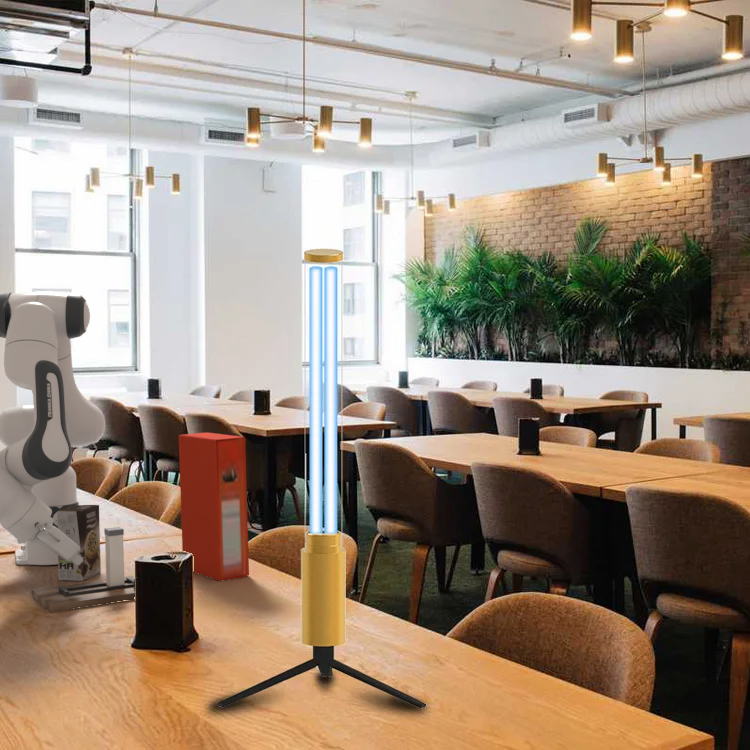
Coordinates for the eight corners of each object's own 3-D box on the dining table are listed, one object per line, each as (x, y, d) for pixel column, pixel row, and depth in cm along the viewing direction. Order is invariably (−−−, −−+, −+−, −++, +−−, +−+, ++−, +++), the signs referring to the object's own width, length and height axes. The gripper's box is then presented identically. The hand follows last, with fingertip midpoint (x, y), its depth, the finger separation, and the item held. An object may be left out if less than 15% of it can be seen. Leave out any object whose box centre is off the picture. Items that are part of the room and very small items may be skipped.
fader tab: (105, 584, 226) (104, 528, 225) (120, 582, 227) (118, 526, 227) (110, 587, 223) (108, 530, 223) (125, 585, 225) (123, 529, 224)
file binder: (218, 581, 234) (214, 439, 233) (181, 569, 248) (178, 434, 247) (249, 576, 239) (246, 436, 238) (212, 564, 253) (208, 432, 252)
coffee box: (83, 581, 237) (81, 510, 237) (57, 580, 239) (55, 510, 238) (102, 572, 246) (100, 504, 246) (76, 571, 247) (75, 503, 247)
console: (31, 596, 224) (31, 580, 224) (132, 582, 235) (131, 566, 235) (51, 612, 210) (50, 595, 210) (156, 596, 222) (156, 580, 222)
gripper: (54, 515, 208) (104, 558, 213) (29, 502, 225) (76, 542, 231) (32, 540, 206) (83, 583, 211) (8, 525, 223) (56, 565, 228)
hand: (79, 561), depth 221 cm, fingers closed
